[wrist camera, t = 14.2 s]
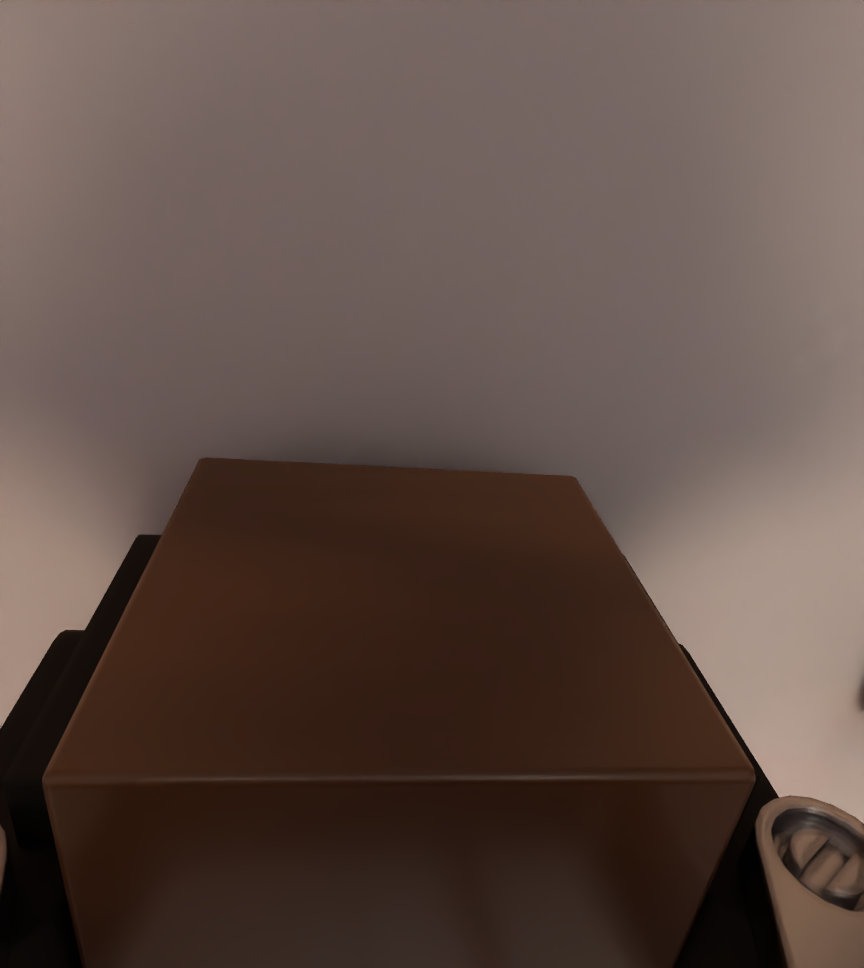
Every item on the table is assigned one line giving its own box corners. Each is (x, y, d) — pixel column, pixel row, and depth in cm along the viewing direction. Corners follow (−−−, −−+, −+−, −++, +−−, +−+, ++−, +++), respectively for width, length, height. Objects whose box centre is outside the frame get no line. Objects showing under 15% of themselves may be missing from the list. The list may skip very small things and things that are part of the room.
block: (214, 739, 11) (115, 1144, 7) (198, 454, 9) (32, 781, 4) (519, 739, 12) (616, 1111, 7) (576, 473, 9) (764, 775, 5)
